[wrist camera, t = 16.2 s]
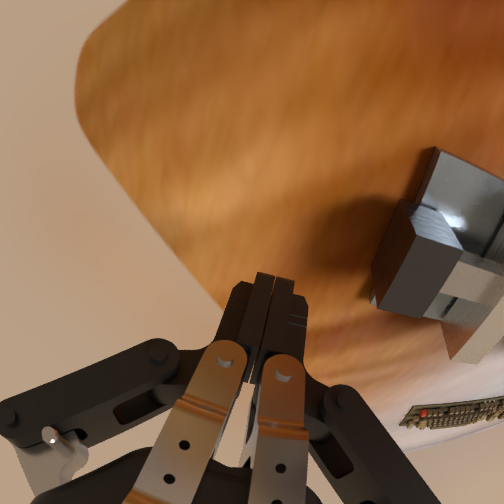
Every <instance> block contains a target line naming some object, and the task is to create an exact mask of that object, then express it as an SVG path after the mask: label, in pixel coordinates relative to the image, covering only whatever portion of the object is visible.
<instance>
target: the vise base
mask: <svg viewBox="0 0 504 504" xmlns="http://www.w3.org/2000/svg"><path fill="white" fill-rule="evenodd" d="M414 203H415V204H418V205H420V206H423V207H426V208H429V209H431V210H434V211H437V212H440V213H442V215H443V216H444V218H445V219H446V221H447V223H448V224H449V226H450V227H451V229H452V231H453V232H454V234H455V236H456V238H457V239H458V241H459V243H460V244H461V246H462V248H463V250H465V251H468V252H470V253H473V254H476V255H479V256H481V257H485V255H486V254H487V252H488V250H489V248H490V247H491V245H492V243H493V241H494V240H495V238H496V236H497V234H498V232H499V230H500V228H501V226H502V225H503V223H504V180H503V179H502V178H500V177H498V176H496V175H494V174H492V173H490V172H489V171H487V170H485V169H483V168H481V167H479V166H477V165H475V164H473V163H471V162H469V161H467V160H464V159H462V158H460V157H458V156H456V155H454V154H452V153H449V152H447V151H445V150H443V149H440V148H438V147H435V150H434V153H433V155H432V158H431V161H430V163H429V166H428V169H427V171H426V174H425V177H424V179H423V182H422V184H421V187H420V189H419V191H418V194H417V196H416V199H415V201H414ZM369 298H370V304H372V305H376V297H375V290H374V287H373V289H372V291H371V293H370V294H369ZM457 299H458V297H455V296H451V295H447V294H444V293H440V292H439V293H438V294H437V296H436V297H435V299H434V300H433V302H432V303H431V305H430V306H429V308H428V309H427V311H426V312H425V314H424V315H423V317H428V318H432V319H437V320H441V321H442V320H443V319H444V317H445V316H446V314H447V313H448V312H449V310H450V309H451V308H452V306H453V305H454V303H455V302H456V300H457ZM376 306H377V305H376Z"/></svg>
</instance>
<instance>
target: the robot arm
mask: <svg viewBox="0 0 504 504" xmlns="http://www.w3.org/2000/svg"><path fill="white" fill-rule="evenodd" d="M274 280H275V276H273V275H269V274H265V273H261V272H257V275H256V278H255V282H254V284H251V283H248V282H244V281H241V282H239V283H238V284H237V285H236V286H235V287H234V288H233V289H232V292H231V295H230V297H229V300H228V303H227V306H226V308H225V311H224V314H223V316H222V319H221V322H220V325H219V328H218V330H217V333H216V336H215V338H214V340H213V341H212V342H211V343H210V344H209V345H208V346H206V347H204V348H202V349H198V350H178V349H177V347H176V346H175V345H174V344H173V343H172V342H170V341H168V340H165V339H160V338H155V339H150V340H148V341H145V342H143V343H141V344H138V345H136V346H134V347H132V348H129V349H127V350H125V351H122V352H120V353H118V354H115V355H113V356H111V357H109V358H107V359H104V360H102V361H99V362H97V363H95V364H92V365H90V366H87V367H85V368H83V369H80V370H78V371H75V372H73V373H71V374H68V375H66V376H63V377H61V378H58V379H56V380H53V381H51V382H48V383H46V384H43V385H41V386H38V387H36V388H33V389H31V390H28V391H26V392H23V393H21V394H18V395H16V396H13V397H10V398H8V399H5V400H3V401H1V402H0V434H1V435H2V436H3V437H4V438H6V439H7V440H8V441H10V443H11V444H12V445H13V446H14V448H15V450H16V453H17V456H18V458H19V461H20V464H21V466H22V468H23V471H24V473H25V476H26V478H27V480H28V482H29V484H30V487H31V489H32V491H33V493H34V495H35V498H34V500H33V501H32V502H31V504H322V502H321V501H320V499H319V498H318V496H317V495H316V494H315V493H314V492H313V491H312V490H311V489H310V488H309V487H308V486H306V483H307V467H308V451H309V453H310V454H311V456H312V457H313V459H314V460H315V462H316V463H317V465H318V466H319V468H320V469H321V471H322V472H323V474H324V475H325V477H326V478H327V480H328V481H329V483H330V484H331V486H332V487H333V489H334V490H335V492H336V493H337V494H338V496H339V497H340V499H341V500H342V502H343V503H344V504H441V503H440V501H439V500H438V499H437V497H436V496H435V495H434V493H433V492H432V491H431V489H430V488H429V487H428V485H427V484H426V482H425V481H424V480H423V478H422V477H421V476H420V475H419V473H418V472H417V470H416V469H415V468H414V467H413V465H412V464H411V463H410V461H409V460H408V458H407V457H406V456H405V454H404V453H403V452H402V450H401V449H400V448H399V446H398V445H397V444H396V442H395V441H394V440H393V438H392V437H391V436H390V434H389V433H388V432H387V430H386V429H385V428H384V426H383V425H382V424H381V422H380V421H379V420H378V418H377V417H376V416H375V414H374V413H373V412H372V410H371V409H370V408H369V406H368V405H367V404H366V402H365V401H364V400H363V398H362V397H361V396H360V394H359V393H358V392H357V391H356V390H355V389H354V388H352V387H350V386H347V385H342V384H340V385H334V386H332V387H328V386H326V385H324V384H322V383H320V382H318V381H316V380H315V379H313V378H312V377H311V376H310V375H309V374H308V372H307V371H306V369H305V367H304V363H303V357H304V348H305V338H306V329H307V328H306V327H307V318H308V305H307V302H306V300H305V297H304V296H300V295H295V294H293V289H294V281H293V280H289V279H285V278H281V277H276V280H275V284H274ZM273 284H274V287H273ZM272 289H273V291H272ZM271 293H272V294H271ZM254 362H255V363H254ZM253 365H254V367H253ZM252 368H253V371H252ZM251 371H252V375H251V379H250V383H251V384H255V388H254V392H253V396H252V399H251V401H250V407H249V413H248V419H247V426H246V432H245V439H244V445H243V450H242V453H241V457H240V462H239V467H238V468H237V467H236V468H235V467H227V466H225V465H223V464H221V463H219V462H217V461H215V460H214V457H215V455H216V452H217V449H218V446H219V443H220V441H221V438H222V435H223V433H224V430H225V428H226V425H227V422H228V420H229V417H230V414H231V412H232V409H233V406H234V404H235V401H236V399H237V398H238V396H239V394H240V391H241V387H242V384H243V382H246V383H248V380H249V377H250V374H251ZM172 407H173V408H172ZM170 408H172V410H171V412H170V414H169V416H168V418H167V420H166V422H165V424H164V426H163V428H162V430H161V432H160V434H159V436H158V438H157V440H156V442H155V444H154V446H153V447H145V448H141V449H138V450H135V451H132V452H130V453H128V454H126V455H124V456H122V457H120V458H118V459H116V460H114V461H112V462H110V463H108V464H106V465H104V466H102V467H100V468H98V469H96V470H94V471H92V472H89V473H87V474H85V475H83V476H81V477H78V478H76V479H74V480H72V481H71V479H72V477H73V475H74V473H75V472H76V471H78V470H79V469H80V468H82V467H83V466H84V465H85V464H86V463H87V461H88V456H89V454H88V448H89V447H91V446H94V445H96V444H98V443H100V442H103V441H105V440H107V439H109V438H112V437H114V436H116V435H118V434H120V433H122V432H124V431H126V430H129V429H130V428H133V427H135V426H137V425H139V424H141V423H143V422H145V421H147V420H149V419H151V418H153V417H155V416H157V415H158V414H161V413H163V412H165V411H167V410H168V409H170Z"/></svg>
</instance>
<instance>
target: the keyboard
mask: <svg viewBox="0 0 504 504" xmlns="http://www.w3.org/2000/svg"><path fill="white" fill-rule="evenodd" d="M497 416H498V419H502V418H504V396H499V397H493V398H487V399H480V400H472V401H463V402H454V403H443V404H430V405H416V406H413V407H412V408H411V410H410V411H409V412H408V414H407V415H406V417H405V418H404V419H403V421H402V422H401V423H400V424H399V426H407V429H411V427H412V426H413V425H416V427H417V428H419V429H420V430H422V429H424V428H425V427H426V426H427V427H430V429H431V430H432V429H440V428H450V427H458V426H465V425H468V424H472V423H473V424H474V423H477V421H482V420H483V419H484V418H486V417H487V418H486V421H492V420H494V419H495V418H496V417H497Z"/></svg>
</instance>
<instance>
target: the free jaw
mask: <svg viewBox="0 0 504 504" xmlns="http://www.w3.org/2000/svg"><path fill="white" fill-rule="evenodd" d="M371 271H372V277H373V283H374V290H375V297H376V305H377V309H380V310H385V311H389V312H393V313H398V314H402V315H406V316H411V317H415V318H420V319H421V318H422V316H423V315H424V314H425V312H426V311H427V309H428V308H429V306H430V305H431V303H432V302H433V300H434V299H435V297H436V296H437V294H438V293H439V292H440V293H444V294H447V295H451V296H455V297H458V299H457V300H456V302H455V303H454V305H453V306H452V308H451V309H450V310H449V312H448V313H447V314H446V316H445V317H444V319H443V320H442V321H441V322H440V324H441V327H442V331H443V335H444V338H445V342H446V346H447V350H448V354H449V359H450V361H455V362H462V363H470V364H478V363H479V362H480V361H481V360H482V359H483V358H484V357H485V356H486V355H487V354H488V353H489V351H490V350H491V349H492V348H493V347H494V346H495V345H496V344H497V343H498V341H499V340H500V339H501V338H502V337H503V336H504V223H503V225H502V226H501V228H500V230H499V232H498V234H497V236H496V238H495V240H494V241H493V243H492V245H491V247H490V248H489V250H488V252H487V254H486V255H485V257H481V256H479V255H476V254H473V253H470V252H468V251H465V250H463V248H462V246H461V244H460V243H459V241H458V239H457V238H456V236H455V234H454V232H453V231H452V229H451V227H450V226H449V224H448V223H447V221H446V219H445V218H444V216H443V215H442V213H440V212H437V211H434V210H431V209H429V208H426V207H423V206H420V205H418V204H415V203H412V202H409V201H406V200H403V199H400V200H399V203H398V205H397V207H396V210H395V212H394V215H393V217H392V219H391V222H390V224H389V226H388V229H387V231H386V233H385V235H384V238H383V240H382V242H381V244H380V246H379V249H378V251H377V253H376V255H375V257H374V259H373V261H372V263H371Z"/></svg>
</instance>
